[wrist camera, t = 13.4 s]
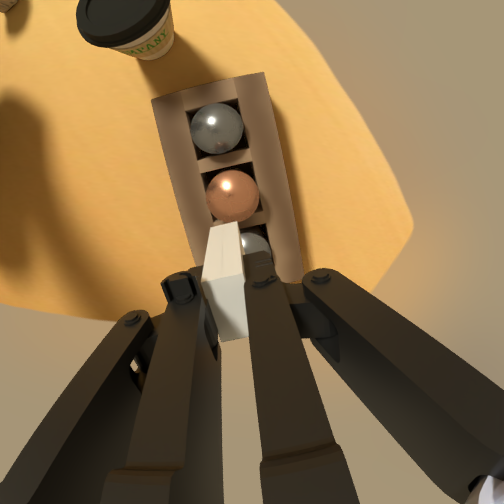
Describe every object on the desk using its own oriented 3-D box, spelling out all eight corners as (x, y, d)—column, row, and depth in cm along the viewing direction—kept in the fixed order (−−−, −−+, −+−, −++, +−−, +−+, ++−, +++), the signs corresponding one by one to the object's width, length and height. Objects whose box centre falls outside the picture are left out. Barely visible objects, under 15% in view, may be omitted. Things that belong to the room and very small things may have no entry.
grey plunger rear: (229, 260, 43) (229, 282, 36) (219, 223, 41) (218, 239, 34) (268, 251, 43) (275, 271, 36) (260, 213, 41) (265, 228, 34)
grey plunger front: (202, 156, 37) (197, 159, 31) (192, 115, 35) (185, 110, 29) (244, 145, 37) (248, 147, 31) (235, 105, 35) (236, 98, 29)
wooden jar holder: (209, 280, 44) (207, 301, 39) (162, 105, 35) (150, 99, 29) (295, 260, 44) (305, 278, 39) (258, 81, 35) (263, 71, 29)
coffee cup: (107, 63, 31) (53, 35, 18) (139, 5, 29) (103, -43, 15) (167, 81, 34) (133, 52, 20) (200, 21, 31) (187, -31, 17)
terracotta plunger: (215, 212, 39) (213, 228, 32) (205, 171, 36) (199, 178, 30) (258, 202, 38) (264, 216, 32) (248, 160, 36) (253, 165, 30)
